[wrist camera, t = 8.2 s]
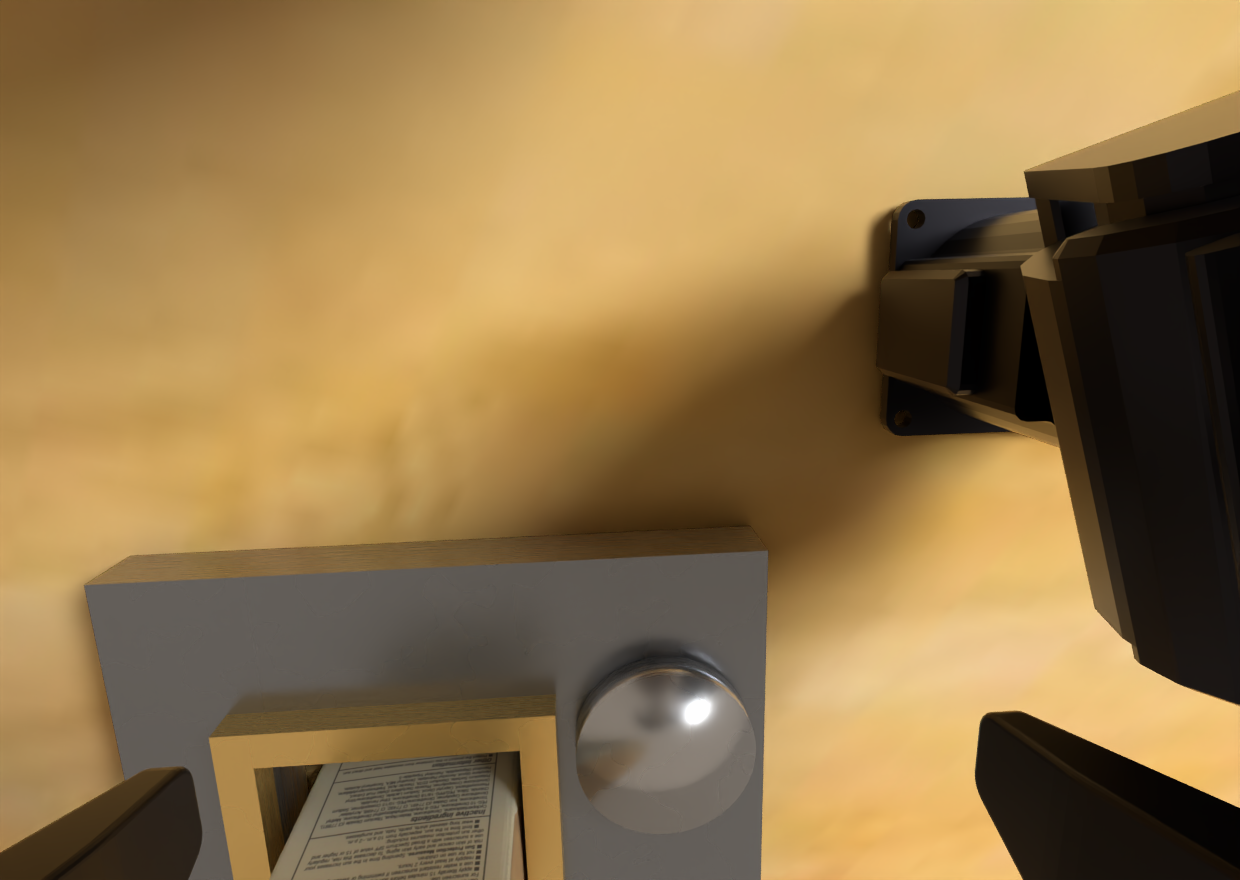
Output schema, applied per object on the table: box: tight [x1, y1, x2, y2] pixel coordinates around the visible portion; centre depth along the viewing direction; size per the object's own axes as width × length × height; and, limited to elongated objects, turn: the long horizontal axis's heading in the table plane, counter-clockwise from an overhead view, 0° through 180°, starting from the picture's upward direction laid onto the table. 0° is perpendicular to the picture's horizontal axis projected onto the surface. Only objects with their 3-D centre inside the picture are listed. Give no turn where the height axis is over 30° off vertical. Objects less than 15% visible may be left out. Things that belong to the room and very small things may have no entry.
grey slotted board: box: [84, 526, 768, 880], centre depth 21 cm, size 18×15×3 cm
